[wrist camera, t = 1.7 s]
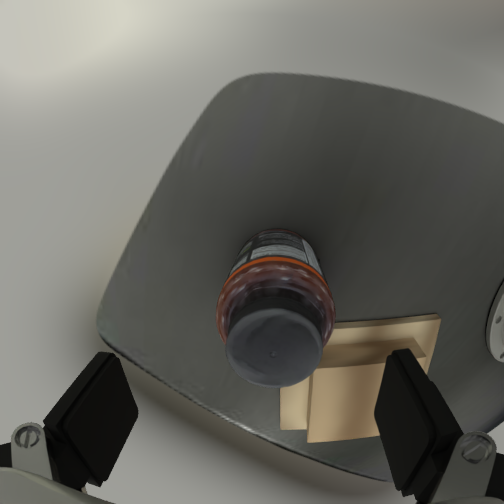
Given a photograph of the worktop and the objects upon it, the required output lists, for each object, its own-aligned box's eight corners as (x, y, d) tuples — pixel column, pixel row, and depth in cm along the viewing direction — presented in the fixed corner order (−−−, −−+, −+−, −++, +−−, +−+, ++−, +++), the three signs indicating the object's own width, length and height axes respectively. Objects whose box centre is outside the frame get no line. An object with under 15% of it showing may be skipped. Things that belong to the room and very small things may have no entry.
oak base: (436, 313, 22) (456, 336, 18) (409, 410, 25) (419, 435, 22) (279, 325, 24) (278, 353, 20) (280, 422, 27) (279, 452, 23)
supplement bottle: (302, 311, 23) (313, 417, 12) (229, 289, 23) (189, 385, 12) (328, 240, 21) (370, 311, 11) (249, 216, 22) (217, 267, 11)
